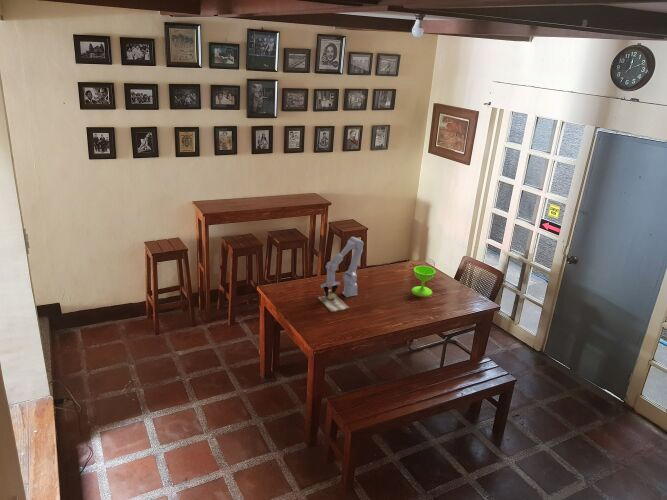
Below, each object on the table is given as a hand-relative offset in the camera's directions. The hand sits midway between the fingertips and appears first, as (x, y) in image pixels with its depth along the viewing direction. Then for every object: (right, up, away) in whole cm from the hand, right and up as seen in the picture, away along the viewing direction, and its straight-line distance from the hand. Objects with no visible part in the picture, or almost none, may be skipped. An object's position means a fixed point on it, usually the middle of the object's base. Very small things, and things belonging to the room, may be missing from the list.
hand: (329, 295), depth 381 cm
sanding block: (0, -2, +1) cm, 2 cm away
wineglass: (+70, +1, +21) cm, 73 cm away
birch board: (+2, -6, -3) cm, 7 cm away
